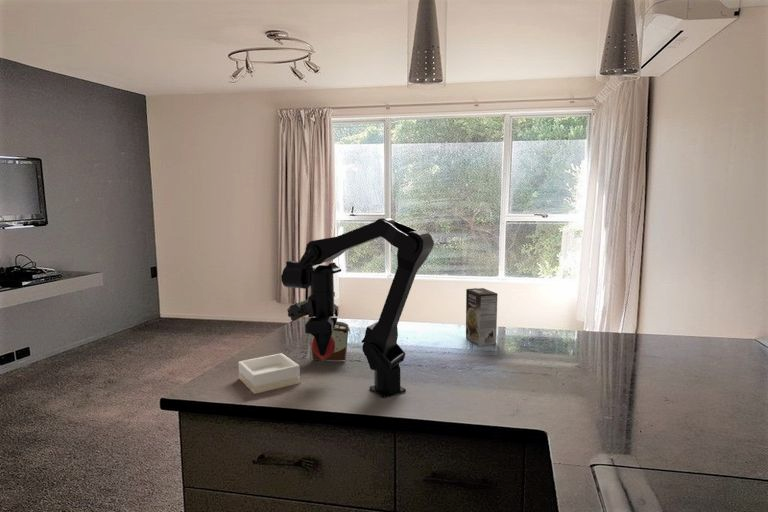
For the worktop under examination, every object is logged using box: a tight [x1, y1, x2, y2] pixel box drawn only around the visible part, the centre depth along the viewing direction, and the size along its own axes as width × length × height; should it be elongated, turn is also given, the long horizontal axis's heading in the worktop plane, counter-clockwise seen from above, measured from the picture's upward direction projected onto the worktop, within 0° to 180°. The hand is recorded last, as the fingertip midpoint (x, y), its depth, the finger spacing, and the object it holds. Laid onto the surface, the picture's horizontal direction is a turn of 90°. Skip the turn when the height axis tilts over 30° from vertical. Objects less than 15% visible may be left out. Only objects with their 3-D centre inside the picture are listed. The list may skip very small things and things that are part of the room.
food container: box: [308, 320, 351, 362], centre depth 139 cm, size 12×6×10 cm, turn 84°
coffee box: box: [465, 287, 498, 347], centre depth 153 cm, size 9×6×16 cm
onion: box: [312, 336, 335, 360], centre depth 122 cm, size 6×6×8 cm
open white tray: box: [238, 352, 301, 395], centre depth 122 cm, size 12×12×4 cm
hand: (323, 351), depth 122 cm, fingers closed on onion, 6 cm apart
